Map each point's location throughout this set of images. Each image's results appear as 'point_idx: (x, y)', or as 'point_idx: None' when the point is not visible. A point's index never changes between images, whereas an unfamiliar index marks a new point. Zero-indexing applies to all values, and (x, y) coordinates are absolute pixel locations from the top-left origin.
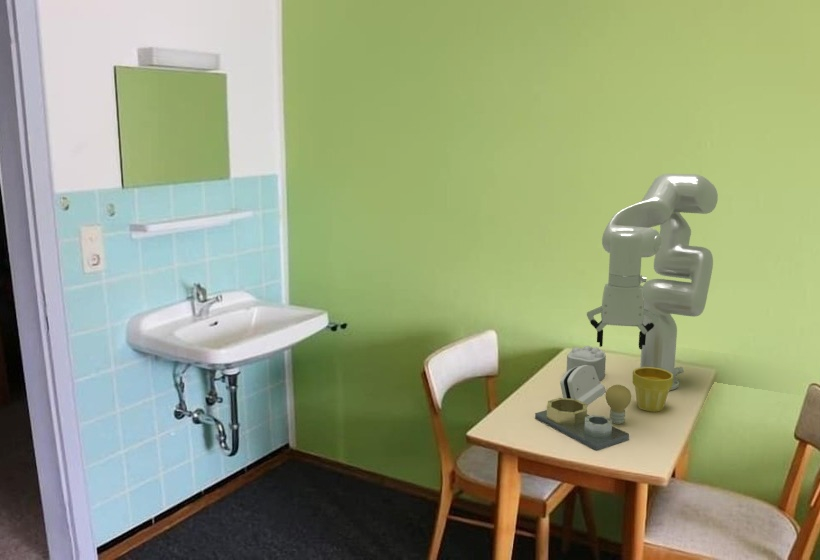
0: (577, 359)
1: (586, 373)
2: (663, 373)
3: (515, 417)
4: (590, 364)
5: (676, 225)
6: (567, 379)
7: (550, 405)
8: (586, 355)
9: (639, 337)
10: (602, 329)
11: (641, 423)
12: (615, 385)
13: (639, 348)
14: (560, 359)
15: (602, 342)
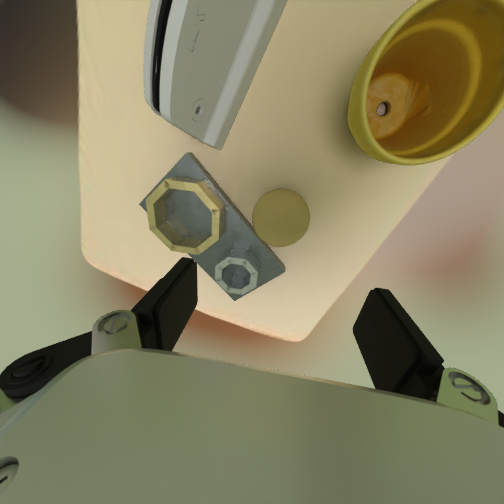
0: None
1: (212, 5)
2: (501, 31)
3: (114, 199)
4: None
5: None
6: (159, 104)
7: (153, 221)
8: None
9: (383, 351)
10: (155, 317)
11: (323, 207)
12: (272, 224)
13: (353, 330)
14: None
15: (189, 316)
